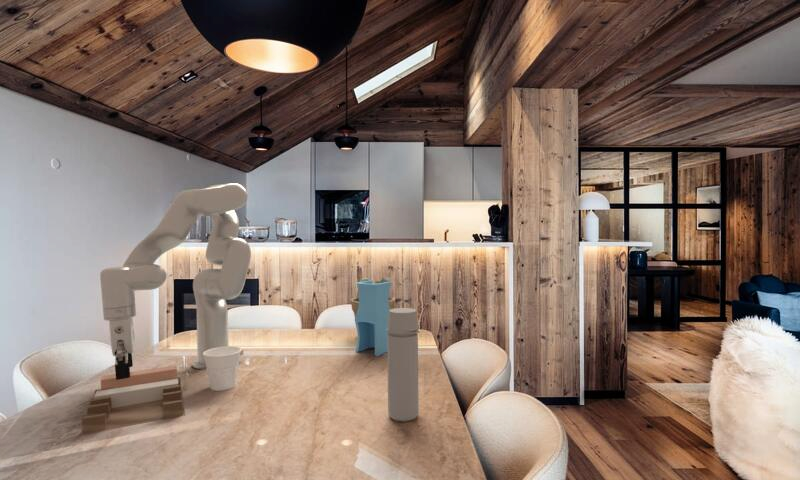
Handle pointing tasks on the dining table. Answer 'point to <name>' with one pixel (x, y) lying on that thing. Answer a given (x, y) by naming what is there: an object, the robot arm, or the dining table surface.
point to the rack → (132, 411)
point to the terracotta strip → (140, 377)
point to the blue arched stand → (372, 316)
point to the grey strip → (136, 393)
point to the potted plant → (386, 279)
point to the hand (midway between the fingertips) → (124, 372)
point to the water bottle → (402, 364)
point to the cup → (222, 367)
